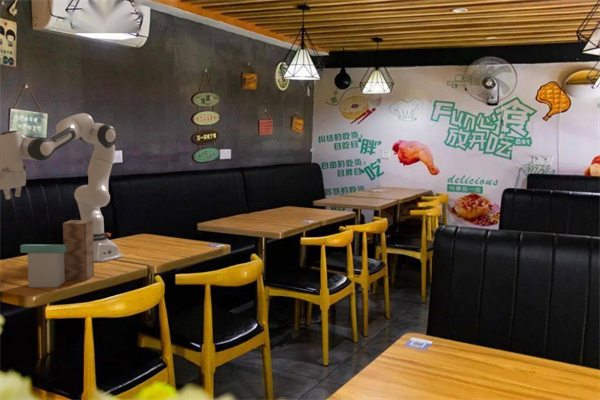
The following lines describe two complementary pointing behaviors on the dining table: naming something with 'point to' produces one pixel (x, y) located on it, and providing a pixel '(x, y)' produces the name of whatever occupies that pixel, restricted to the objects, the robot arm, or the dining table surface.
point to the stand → (78, 250)
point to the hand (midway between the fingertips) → (13, 197)
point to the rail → (43, 248)
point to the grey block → (46, 269)
